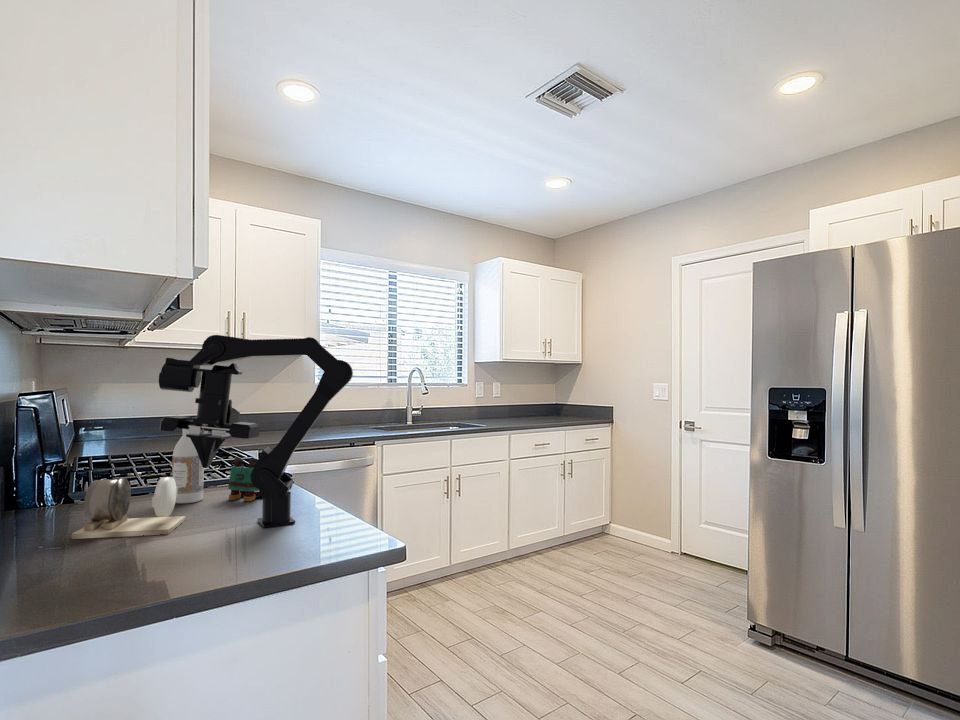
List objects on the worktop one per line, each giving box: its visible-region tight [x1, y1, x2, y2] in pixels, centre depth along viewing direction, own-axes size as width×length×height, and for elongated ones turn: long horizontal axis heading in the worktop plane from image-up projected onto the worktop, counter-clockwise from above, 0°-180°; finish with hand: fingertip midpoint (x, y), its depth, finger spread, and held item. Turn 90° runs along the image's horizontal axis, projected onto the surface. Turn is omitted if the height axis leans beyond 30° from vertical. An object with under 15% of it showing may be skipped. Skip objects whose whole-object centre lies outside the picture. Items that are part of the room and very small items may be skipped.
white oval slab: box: [151, 476, 178, 517], centre depth 111 cm, size 2×10×8 cm, turn 12°
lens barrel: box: [83, 477, 132, 522], centre depth 108 cm, size 5×8×8 cm, turn 12°
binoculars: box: [228, 456, 261, 502], centre depth 138 cm, size 9×11×10 cm
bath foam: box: [171, 429, 205, 505], centre depth 134 cm, size 7×7×20 cm
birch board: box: [71, 514, 186, 540], centre depth 109 cm, size 17×10×2 cm, turn 102°
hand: (205, 467), depth 112 cm, fingers closed
